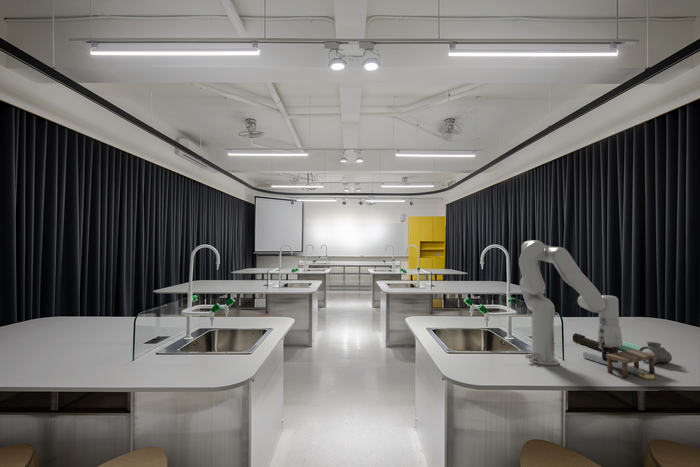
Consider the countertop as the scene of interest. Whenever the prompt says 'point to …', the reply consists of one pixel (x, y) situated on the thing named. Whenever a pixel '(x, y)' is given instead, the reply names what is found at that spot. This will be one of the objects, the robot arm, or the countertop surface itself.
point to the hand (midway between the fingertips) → (610, 360)
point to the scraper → (614, 363)
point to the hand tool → (585, 341)
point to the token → (646, 376)
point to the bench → (630, 360)
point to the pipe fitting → (656, 352)
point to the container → (628, 346)
